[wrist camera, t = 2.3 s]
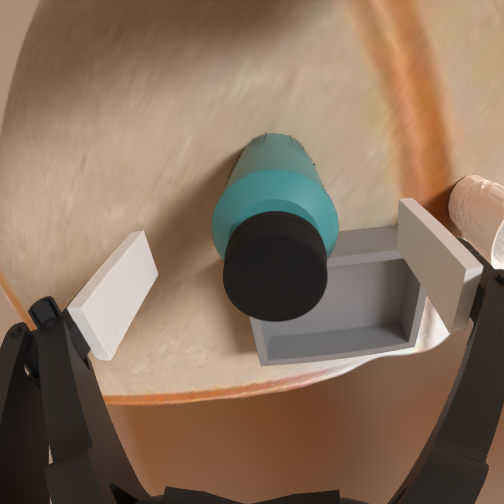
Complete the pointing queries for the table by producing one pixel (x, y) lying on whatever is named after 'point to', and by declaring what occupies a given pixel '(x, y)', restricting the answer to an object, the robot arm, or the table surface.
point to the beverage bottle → (275, 231)
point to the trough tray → (351, 306)
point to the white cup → (480, 216)
